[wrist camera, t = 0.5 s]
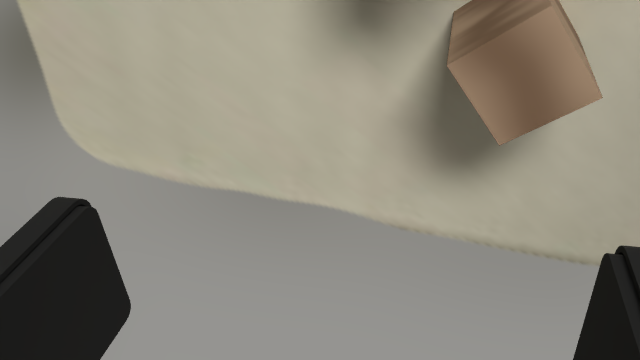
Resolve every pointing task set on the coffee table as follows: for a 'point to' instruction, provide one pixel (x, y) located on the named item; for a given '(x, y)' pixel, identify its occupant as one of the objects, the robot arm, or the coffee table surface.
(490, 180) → the coffee table surface
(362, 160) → the coffee table surface
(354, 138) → the coffee table surface
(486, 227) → the coffee table surface
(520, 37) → the walnut block
